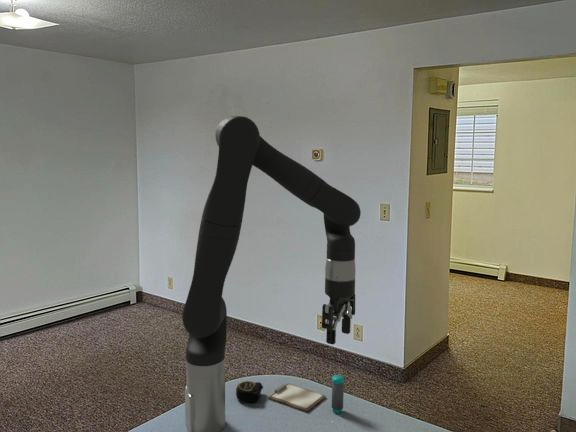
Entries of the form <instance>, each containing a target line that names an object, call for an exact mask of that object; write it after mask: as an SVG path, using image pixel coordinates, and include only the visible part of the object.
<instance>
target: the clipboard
mask: <svg viewBox="0 0 576 432" xmlns="http://www.w3.org/2000/svg"><path fill="white" fill-rule="evenodd" d="M326 398H327V395H325V394H322V393H319V392H316V391H313V390H309V389H307V388H303V387H301V386H298V385H295V384H291V383H287V384H285V383H283V384H281V385H280V386H278V387H276V388H275V389H274V392H273V393H272V394H270V395H269V396H268V400H270V401H272V400H273V402H276V403H279V404H282V405H284V406H287V407H290V408H293V409H295V410H298V411H301V412H304V413H307V414H308V413H309V412H310V411H311V410H312V409H314V408H315V407H316V406H318V405H319V404H320V403H321V402H322V401H324V400H325V399H326Z"/></svg>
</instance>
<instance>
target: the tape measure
mask: <svg viewBox="0 0 576 432" xmlns="http://www.w3.org/2000/svg"><path fill="white" fill-rule="evenodd" d="M262 390H264V385H263V384H262V382H261V381H260V382H259V381H257V382H255V381H248V380H247V381H243V382H240V383H238V384H237V385H236V388H235V396H236V399H237V401H240V402H242V403H257V402H258V401H260V400H259V399H260V395H261V393H262Z"/></svg>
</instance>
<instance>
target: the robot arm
mask: <svg viewBox="0 0 576 432" xmlns="http://www.w3.org/2000/svg"><path fill="white" fill-rule="evenodd" d="M260 134H261V133H260V130H259V128H258V126H257V124H256V123H255V121H253V120H252V119H251V118H249V117H246V116H243V115H242V116H241V115H232V116H228V117H226V118H224V119H222V120H221V121H220V123H218V125H217V126H216V129H215V135H214V136H215V141H216V145H217V146H218V154H217V155H218V156H217V164H216V165H217V166H216V171H215V176H214V180H213V183H212V186H211V188H210V191H209V193H208V196H207V198H206V201H205V205H204V207H203V211H202V214H201V215H202V216H201V217H200V218H201V220H200V225H199V230H198V237H197V243H196V251H195V259H194V266H193V267H194V268H193V275H192V279H191V283H190V287H189V289H188V294H187V297H186V300H185V304H184V306H183V310H182V314H181V319H182V323H183V327H184V329H185V330H186V332H187V333H188V340H187V344H186V348H185V349H186V350H185V365H186V369H185V370H186V371H185V372H186V373H185V374H186V386H184V409H185V412H184V413H185V414H184V415H185V417H184V419H185V421H184V422H185V425H186V428H187V430H188V432H221V431H222V430H223V429H224V428H225V426H226V358H225V357H226V353H225V352H226V345H227V329H228V326H227V320H228V319H227V318H228V317H227V316H228V315H227V314H228V313H227V311H228V310H227V305H226V301H225V300H224V298H223V294H224V286H225V281H226V278H227V275H228V272H229V270H230V267H231V265H232V262H233V260H234V256H235V254H236V250H237V247H238V244H239V239H240V236H241V235H240V234H241V229H242V223H243V217H244V212H245V205H246V204H245V203H246V197H247V196H246V195H247V190H248V189H247V188H248V183H249V178H250V174H251V171H252V168H253V167H255V168H256V169H258V170H260V171H261V172H262V173H264V174H265V175H267V176H269V177H270V178H271V179H272V180H273V181H275V182H276V183H277V184H278V185H280V186H281V187H282V188H284V189H285V190H286V191H288V192H289V193H290V194H292V195H293V196H294V197H296V198H298V199H299V200H300V201H301V202H303V203H304V204H307V205H308V206H309V207H312V208H314V209H316V210H318V211H320V212H321V213H323V223H324V224H323V225H324V231H325V236H326V241H327V243H326V261H325V267H324V268H325V269H324V271H325V273H324V293H325V295H327V297H329V301H328V304H327V303H326V304H323V305H322V307H321V308H322V310H321V311H322V312H321V329H324V330H326V336H325V338H326V341H325V342H326V343H327V344H329V345H335V344H336V341H337V340H336V339H337V330H336V329H337V327H338V323H339V322H341V333H343V334H346V335H349V334H351V323H352V322H351V321H352V319H353V316H355V314H356V241H355V238H354V236H353V235H352V233H351V228H350V227H352V226H355V224H357V223H358V222H359V221H360V219H361V215H362V213H361V207H360V205H359V203H358V202H357V201H356V200H355V199H354V198H352V197H351V196H349V195H348V194H346V193H344V192H343V191H341V190H339V189H337V188H335V187H334V186H332V185H330V184H329V183H327V182H326V181H325V180H324V179H322V178H321V177H320V176H318V175H317V174H316V173H315V172H313V171H311V170H310V169H309V168H307V167H306V166H304V165H302V164H301V163H299V162H298V161H296V160H294V159H292V158H291V157H289V156H288V155H286V154H284V153H282V152H281V151H279V150H278V149H277V148H275V147H274V146H273V145H271V144H269V142H268V141H266V140H265V139H264V138H263V137H262V136H261V135H260Z"/></svg>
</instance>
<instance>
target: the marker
mask: <svg viewBox="0 0 576 432" xmlns="http://www.w3.org/2000/svg"><path fill="white" fill-rule="evenodd" d="M344 385H345V377H344V376H343V375H340V374H336V375H335V374H334V375H332V377H331V409H332V413H333V414H337V415H340V414H342V413H343V409H344V393H345V391H344V390H345V388H344V387H345V386H344Z"/></svg>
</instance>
